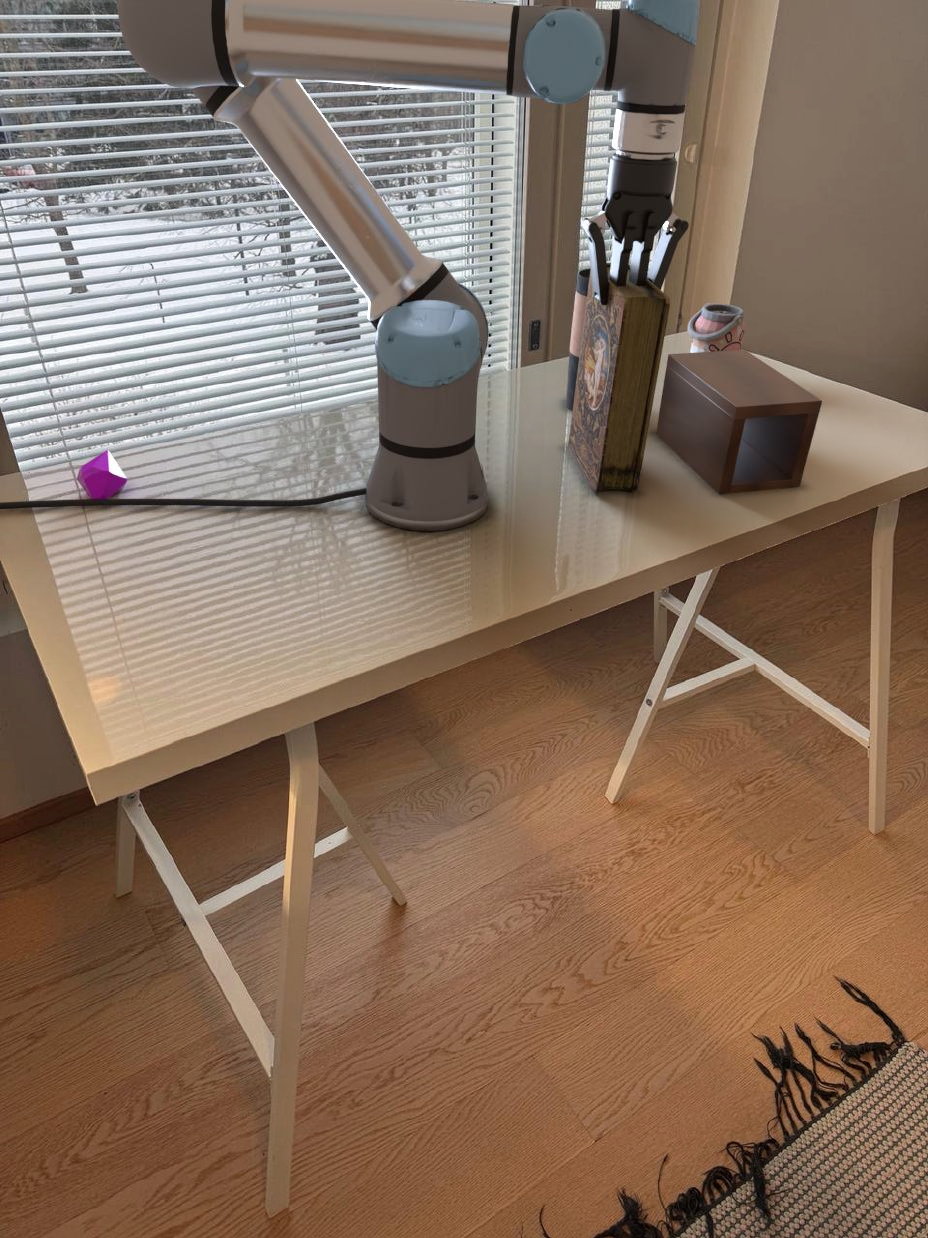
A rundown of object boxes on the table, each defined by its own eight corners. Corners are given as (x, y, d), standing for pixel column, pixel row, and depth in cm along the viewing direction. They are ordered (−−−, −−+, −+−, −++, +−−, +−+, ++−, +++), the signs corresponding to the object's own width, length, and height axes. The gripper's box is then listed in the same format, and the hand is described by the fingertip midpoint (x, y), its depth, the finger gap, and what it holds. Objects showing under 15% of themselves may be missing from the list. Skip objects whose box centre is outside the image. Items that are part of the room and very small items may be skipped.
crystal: (77, 491, 116) (69, 457, 113) (119, 480, 118) (113, 447, 116) (92, 507, 112) (84, 473, 110) (135, 496, 115) (129, 462, 113)
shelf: (718, 494, 120) (736, 406, 114) (655, 433, 136) (668, 353, 129) (800, 486, 123) (822, 400, 116) (728, 428, 139) (744, 349, 132)
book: (565, 444, 132) (588, 262, 118) (602, 443, 133) (629, 263, 119) (595, 496, 119) (625, 298, 104) (636, 495, 119) (671, 298, 105)
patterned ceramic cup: (702, 394, 150) (716, 320, 144) (669, 377, 156) (681, 305, 150) (745, 385, 154) (760, 313, 147) (711, 369, 160) (724, 299, 153)
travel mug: (559, 411, 142) (572, 277, 131) (569, 394, 148) (582, 265, 137) (608, 418, 141) (625, 283, 129) (616, 401, 147) (633, 270, 135)
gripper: (602, 158, 99) (578, 372, 113) (712, 158, 102) (677, 366, 116) (578, 148, 105) (558, 352, 119) (683, 148, 108) (652, 347, 122)
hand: (617, 359), depth 117 cm, fingers closed
